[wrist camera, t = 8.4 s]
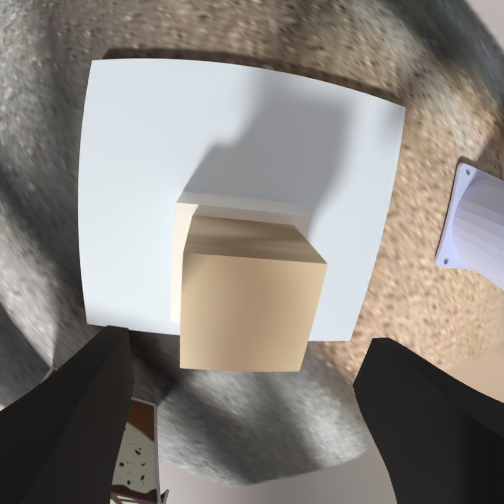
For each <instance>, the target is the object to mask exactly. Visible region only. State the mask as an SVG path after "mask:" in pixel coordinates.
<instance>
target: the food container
mask: <svg viewBox="0 0 504 504" xmlns="http://www.w3.org/2000/svg"><path fill="white" fill-rule="evenodd" d="M57 370H58V368H56V367H53V366H52V367H51V369H50V370H49V372H48V373H47V374H46V376H45V377H44V378H43V380H42V381H41V383H42V382H43V381H44V380H45V379H47V378H48V377H49V376H50V375H52V374H53V373H54V372H55V371H57ZM168 493H169V490H168V489H167V490H166V491H165V492H164V493H163V494H161V495H160V484H159V467H158V443H157V404H155V403H151V402H148V401H144V400H141V399H138V398H135V397H132V399H131V406H130V412H129V415H128V419H127V423H126V427H125V431H124V434H123V438H122V442H121V446H120V450H119V454H118V458H117V462H116V466H115V470H114V475H113V481H112V487H111V499H110V504H166V500H167V497H168Z"/></svg>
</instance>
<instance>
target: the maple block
mask: <svg viewBox="0 0 504 504" xmlns="http://www.w3.org/2000/svg"><path fill="white" fill-rule="evenodd" d="M327 266H328V264H327V262H326V261H325V260H324V259H323V258H322V257H321V255H320V254H319V253H318V252H317V251H316V250H315V249H314V247H313V246H312V245H311V244H310V243H309V242H308V241H307V240H306V238H305V237H304V236H303V235H302V234H301V233H300V232H299V231H298V229H297V228H296V227H295V226H294V225H288V224H278V223H269V222H259V221H249V220H239V219H228V218H217V217H206V216H194V215H192V219H191V223H190V227H189V231H188V235H187V239H186V243H185V247H184V251H183V263H182V284H181V315H180V368H187V369H202V370H221V371H257V372H283V371H299V370H300V367H301V364H302V360H303V357H304V354H305V350H306V347H307V343H308V340H309V336H310V333H311V329H312V325H313V322H314V318H315V314H316V310H317V306H318V303H319V299H320V295H321V291H322V287H323V283H324V278H325V274H326V270H327Z"/></svg>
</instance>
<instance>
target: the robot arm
mask: <svg viewBox="0 0 504 504" xmlns="http://www.w3.org/2000/svg"><path fill="white" fill-rule="evenodd" d="M466 170H467V173H466ZM445 259H446V260H445ZM444 260H445V262H444ZM435 264H436V265H437V266H439V267H447V268H457V269H468V270H474V271H476V272H478V273H479V274H481V275H482V276H484V277H485V278H487V279H488V280H490V281H491V282H493V283H494V284H496V285H497V286H498V287H500V288H501V289H503V290H504V181H503V180H501V179H499V178H497V177H494V176H492V175H490V174H488V173H486V172H484V171H482V170H479V169H477V168H475V167H473V166H470V165H468V164H466V163H459V164H458V166H457V171H456V177H455V182H454V187H453V192H452V196H451V201H450V205H449V210H448V214H447V218H446V222H445V226H444V230H443V233H442V237H441V241H440V244H439V248H438V251H437V254H436V258H435ZM133 386H134V376H133V368H132V359H131V350H130V340H129V328H126V327H118V326H111V325H107V326H106V327H105V328H104V329H103V330H102V331H100V332H99V333H98V334H97V335H96V336H95V337H94V338H93V339H91V340H90V341H89V342H88V343H87V344H86V345H85V346H84V347H83V348H82V349H80V350H79V351H78V352H77V353H76V354H75V355H74V356H73V357H71V358H70V359H69V360H68V361H67V362H66V363H65V364H63V365H62V366H61V367H60V368H59V369H58V370H57V371H55V372H54V373H53V374H52V375H50V376H49V377H48V378H47V379H45V380H44V381H43V382H42V383H40V384H39V385H38V386H37V387H35V388H34V389H33V390H31V391H30V392H29V393H27V394H26V395H24V396H23V397H21V398H20V399H18V400H17V401H15V402H14V403H12V404H11V405H9V406H8V407H6V408H4V409H3V410H1V411H0V504H110V499H111V487H112V481H113V475H114V470H115V466H116V462H117V458H118V454H119V450H120V446H121V442H122V438H123V434H124V431H125V427H126V423H127V419H128V415H129V412H130V406H131V399H132V392H133ZM353 388H354V392H355V396H356V399H357V402H358V405H359V408H360V411H361V414H362V416H363V418H364V420H365V422H366V425H367V427H368V429H369V431H370V433H371V435H372V437H373V439H374V442H375V444H376V446H377V448H378V450H379V452H380V454H381V456H382V458H383V460H384V463H385V465H386V468H387V470H388V473H389V476H390V479H391V482H392V485H393V489H394V492H395V496H396V500H397V504H504V403H502V402H500V401H498V400H495V399H493V398H491V397H489V396H487V395H485V394H483V393H480V392H478V391H476V390H475V389H473V388H471V387H469V386H467V385H465V384H464V383H462V382H460V381H459V380H457V379H455V378H453V377H452V376H450V375H449V374H447V373H445V372H444V371H442V370H441V369H439V368H437V367H436V366H434V365H433V364H431V363H430V362H428V361H427V360H425V359H423V358H422V357H420V356H419V355H417V354H416V353H414V352H413V351H411V350H409V349H408V348H406V347H405V346H403V345H401V344H400V343H398V342H396V341H394V340H392V339H390V338H388V337H387V338H373V339H372V341H371V344H370V346H369V349H368V351H367V354H366V356H365V358H364V361H363V363H362V365H361V368H360V370H359V372H358V375H357V377H356V379H355V381H354V383H353Z"/></svg>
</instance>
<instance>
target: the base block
mask: <svg viewBox="0 0 504 504" xmlns="http://www.w3.org/2000/svg"><path fill="white" fill-rule="evenodd" d="M192 215H194V216H206V217H217V218H228V219H239V220H249V221H259V222H269V223H278V224H288V225H294V226H295V227H296V228H297V229H298V231H299V232H300V233H301V234H302V235H303V236H304V237H305V238H306V240H307V235H308V230H309V224H310V219H311V217H310V216H309V215H308V214H307V213H305V212H304V211H303V210H302V209H301V208H299V207H298V206H297V205H296V204H295V203H288V202H280V201H272V200H264V199H255V198H247V197H238V196H229V195H219V194H209V193H199V192H188V191H182V193H181V195H180V197H179V198H178V200H177V202H176V209H175V222H174V237H173V255H172V279H171V322H179V323H180V315H181V284H182V263H183V251H184V247H185V243H186V239H187V235H188V231H189V227H190V223H191V219H192Z"/></svg>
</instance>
